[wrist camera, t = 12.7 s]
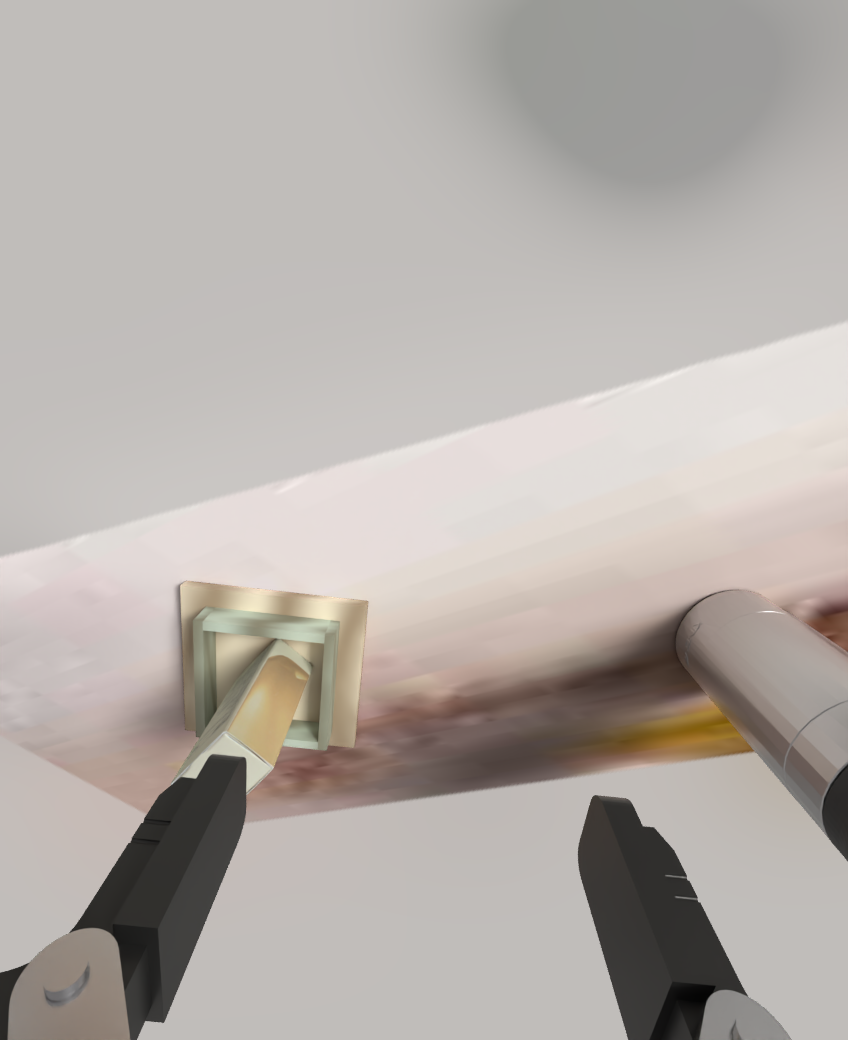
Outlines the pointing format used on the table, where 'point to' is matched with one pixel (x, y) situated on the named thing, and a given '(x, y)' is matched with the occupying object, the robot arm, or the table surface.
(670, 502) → the table surface
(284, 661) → the skincare box
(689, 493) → the table surface
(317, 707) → the socket stand
